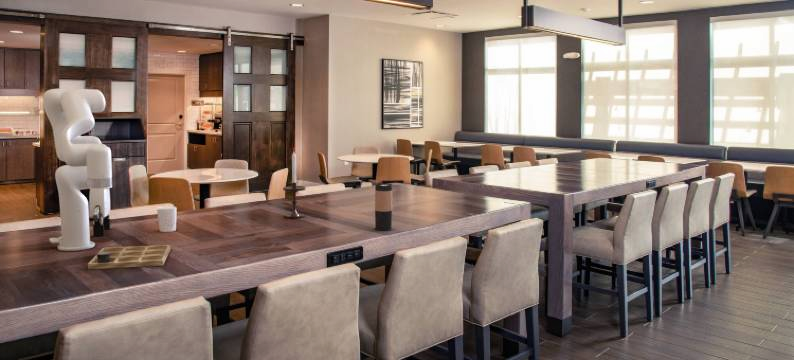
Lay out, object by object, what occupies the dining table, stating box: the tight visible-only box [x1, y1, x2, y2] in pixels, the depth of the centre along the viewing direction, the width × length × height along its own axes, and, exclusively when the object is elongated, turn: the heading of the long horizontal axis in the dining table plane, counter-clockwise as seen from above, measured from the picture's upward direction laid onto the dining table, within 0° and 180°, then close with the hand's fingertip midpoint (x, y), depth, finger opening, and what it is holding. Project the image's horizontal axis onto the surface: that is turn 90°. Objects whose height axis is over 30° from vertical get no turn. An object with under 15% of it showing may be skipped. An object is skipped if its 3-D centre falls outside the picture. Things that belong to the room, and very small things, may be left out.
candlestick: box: [282, 145, 307, 220], centre depth 302 cm, size 11×11×35 cm
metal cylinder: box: [96, 251, 110, 263], centre depth 212 cm, size 4×4×4 cm
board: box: [87, 244, 171, 270], centre depth 222 cm, size 24×24×2 cm
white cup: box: [156, 205, 178, 233], centre depth 269 cm, size 8×8×10 cm
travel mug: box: [374, 183, 393, 232], centre depth 276 cm, size 8×8×20 cm
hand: (102, 233), depth 212 cm, fingers open, 9 cm apart
